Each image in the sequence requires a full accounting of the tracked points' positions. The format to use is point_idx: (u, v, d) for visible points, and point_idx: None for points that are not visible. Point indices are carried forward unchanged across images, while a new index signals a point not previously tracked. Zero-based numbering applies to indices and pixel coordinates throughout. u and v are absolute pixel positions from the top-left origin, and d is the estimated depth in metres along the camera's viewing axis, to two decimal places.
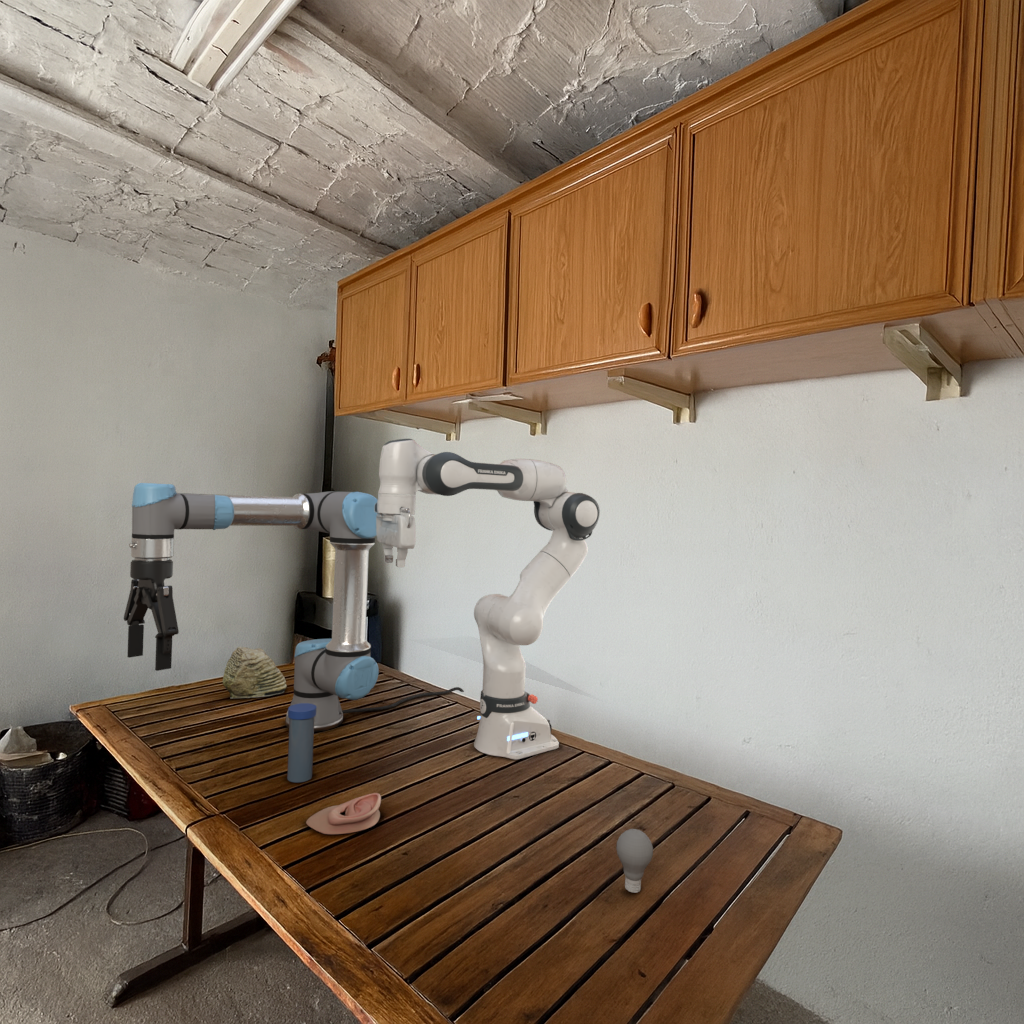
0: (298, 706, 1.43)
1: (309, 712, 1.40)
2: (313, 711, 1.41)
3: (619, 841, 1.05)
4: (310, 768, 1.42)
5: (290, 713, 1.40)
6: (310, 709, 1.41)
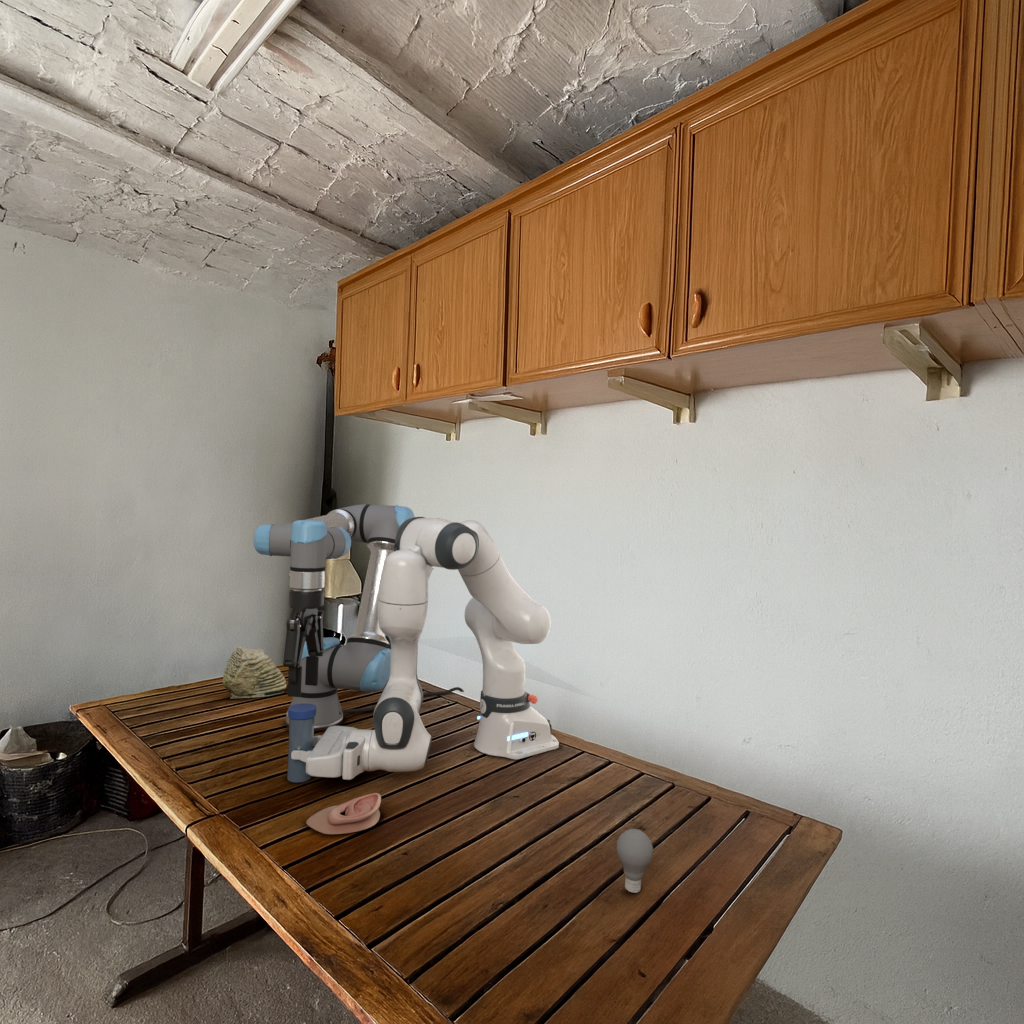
0: (298, 706, 1.43)
1: (309, 712, 1.40)
2: (313, 711, 1.41)
3: (619, 841, 1.05)
4: None
5: (290, 713, 1.40)
6: (310, 709, 1.41)
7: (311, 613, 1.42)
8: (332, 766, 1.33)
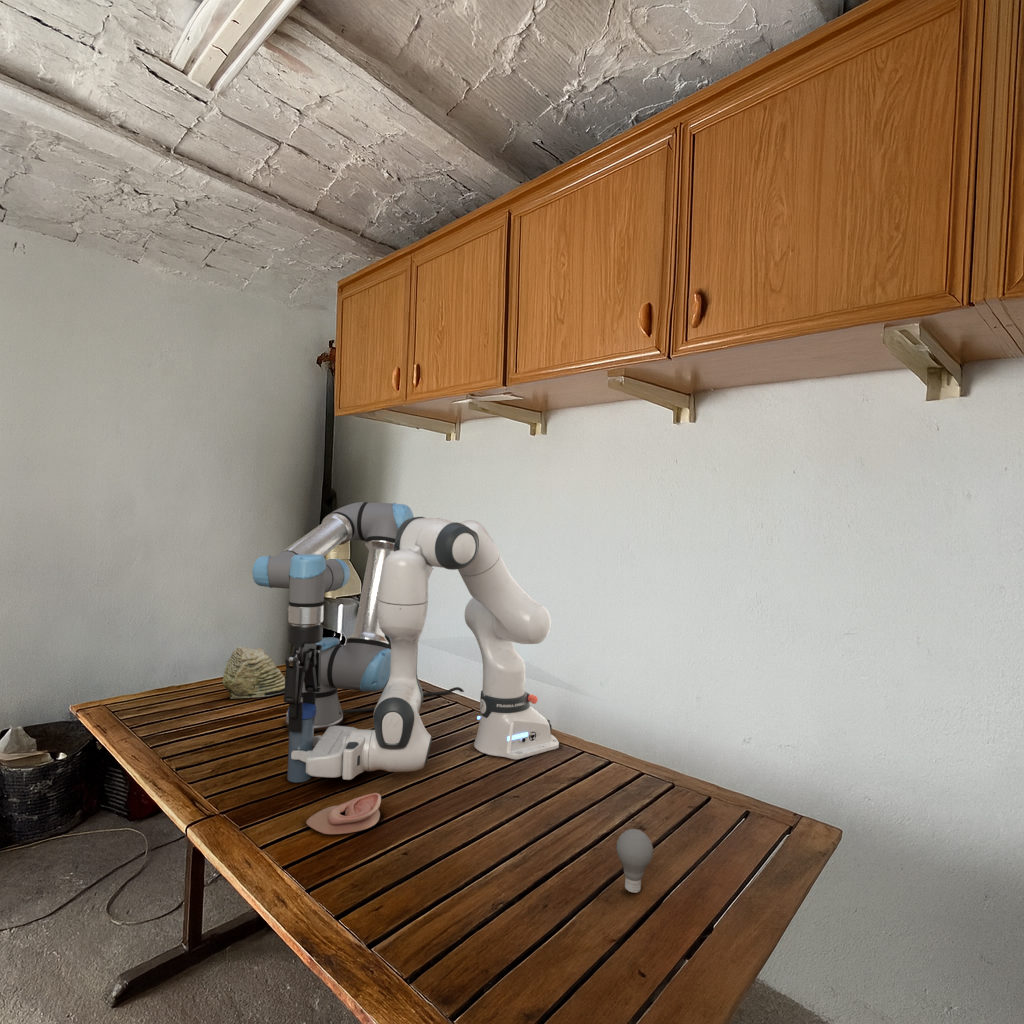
0: None
1: (309, 712, 1.40)
2: (313, 711, 1.41)
3: (619, 841, 1.05)
4: None
5: None
6: (310, 709, 1.41)
7: (310, 647, 1.42)
8: (332, 766, 1.33)
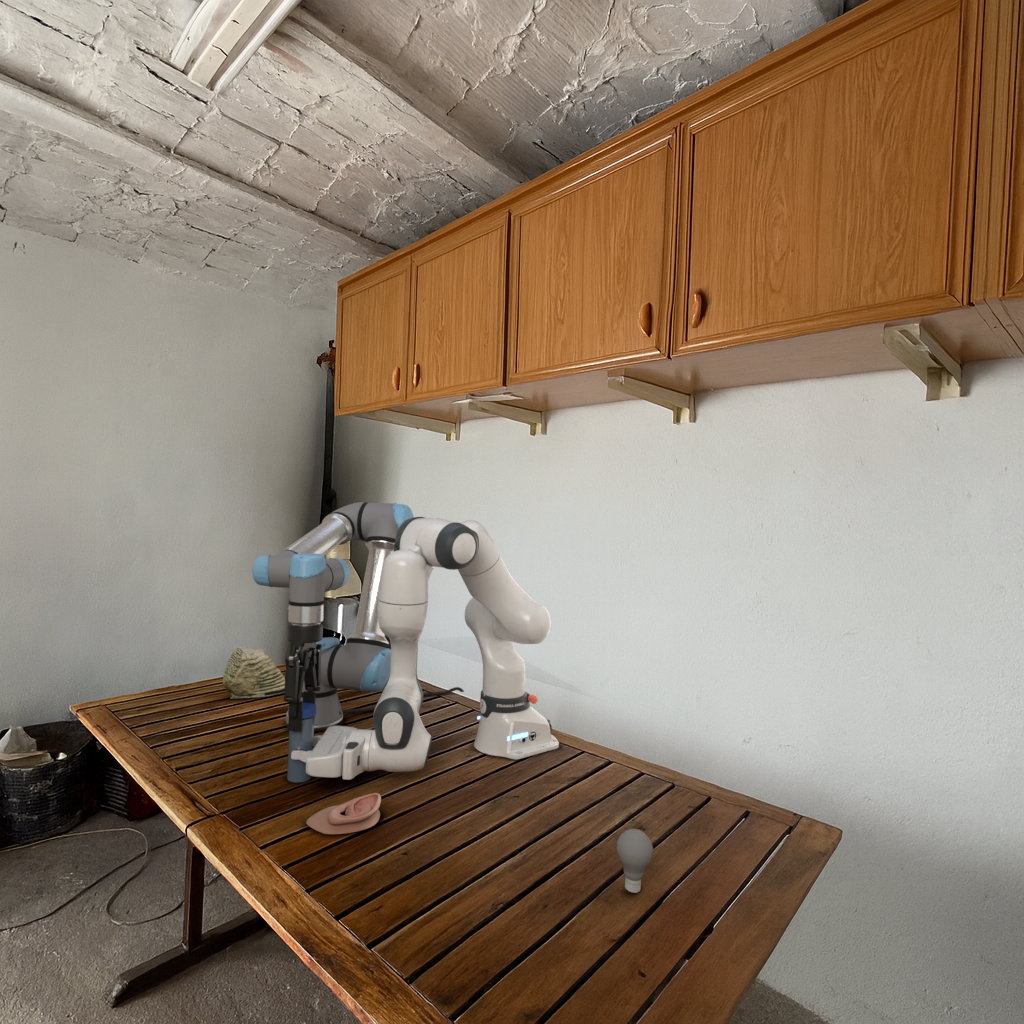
0: None
1: None
2: None
3: (619, 841, 1.05)
4: None
5: (303, 713, 1.39)
6: (313, 705, 1.44)
7: (310, 647, 1.42)
8: (332, 766, 1.33)
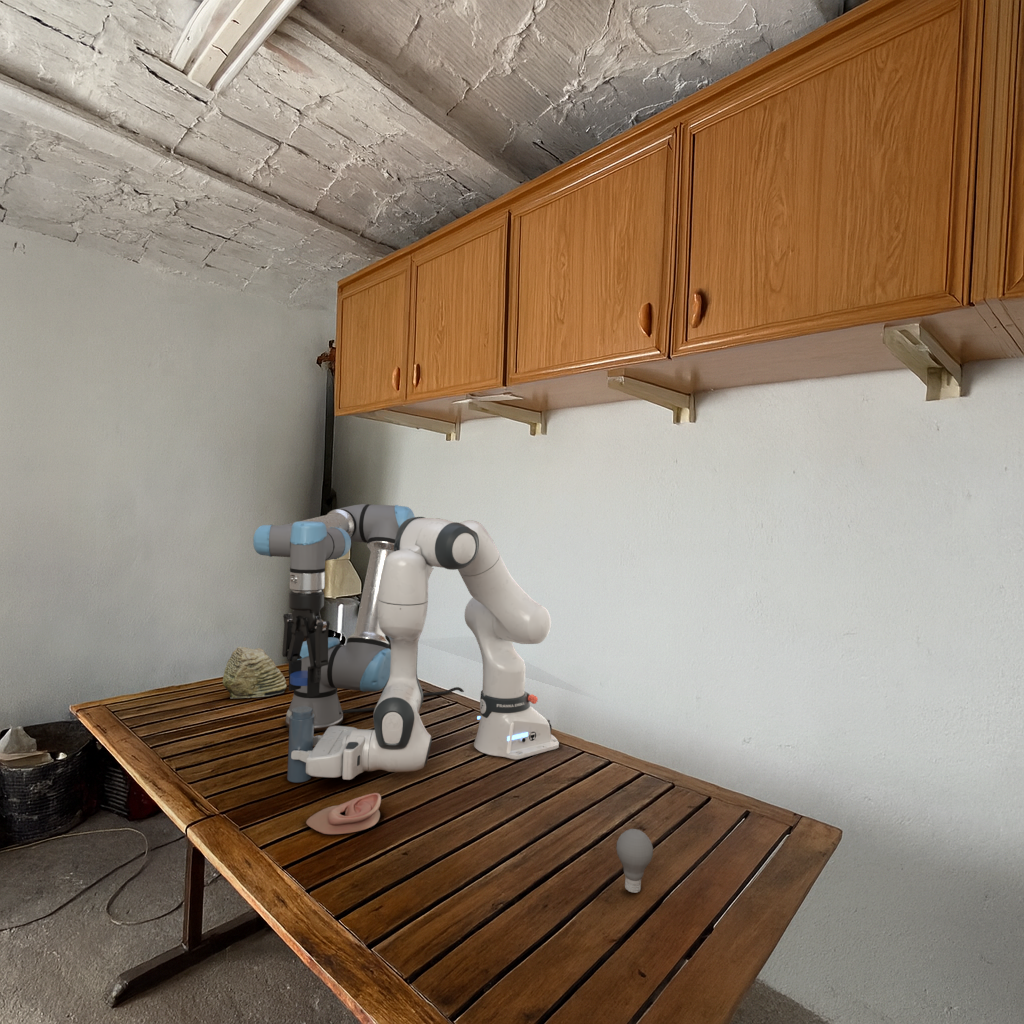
0: (302, 675, 1.41)
1: None
2: None
3: (619, 841, 1.05)
4: None
5: None
6: (306, 671, 1.45)
7: None
8: (332, 766, 1.33)
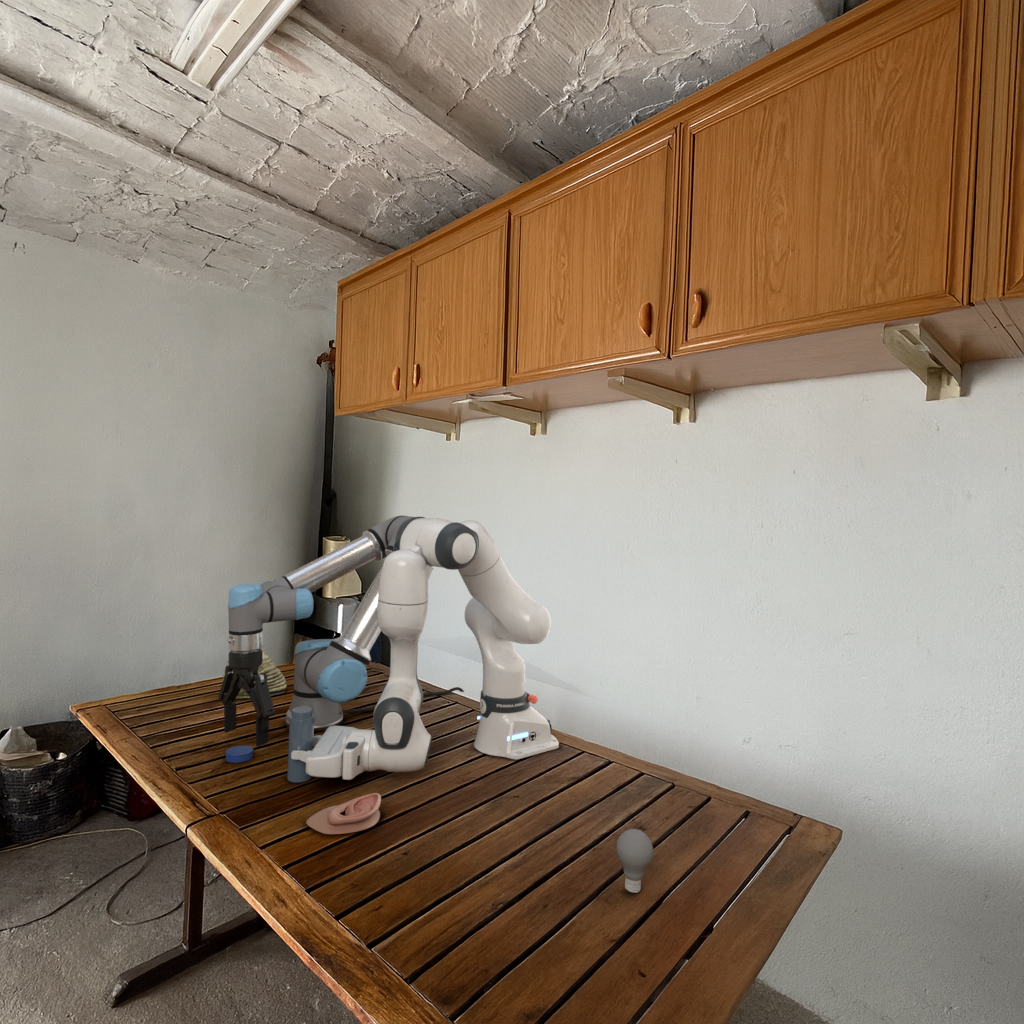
0: (237, 752, 1.50)
1: None
2: None
3: (619, 841, 1.05)
4: None
5: (251, 754, 1.51)
6: (242, 746, 1.54)
7: None
8: (332, 766, 1.33)
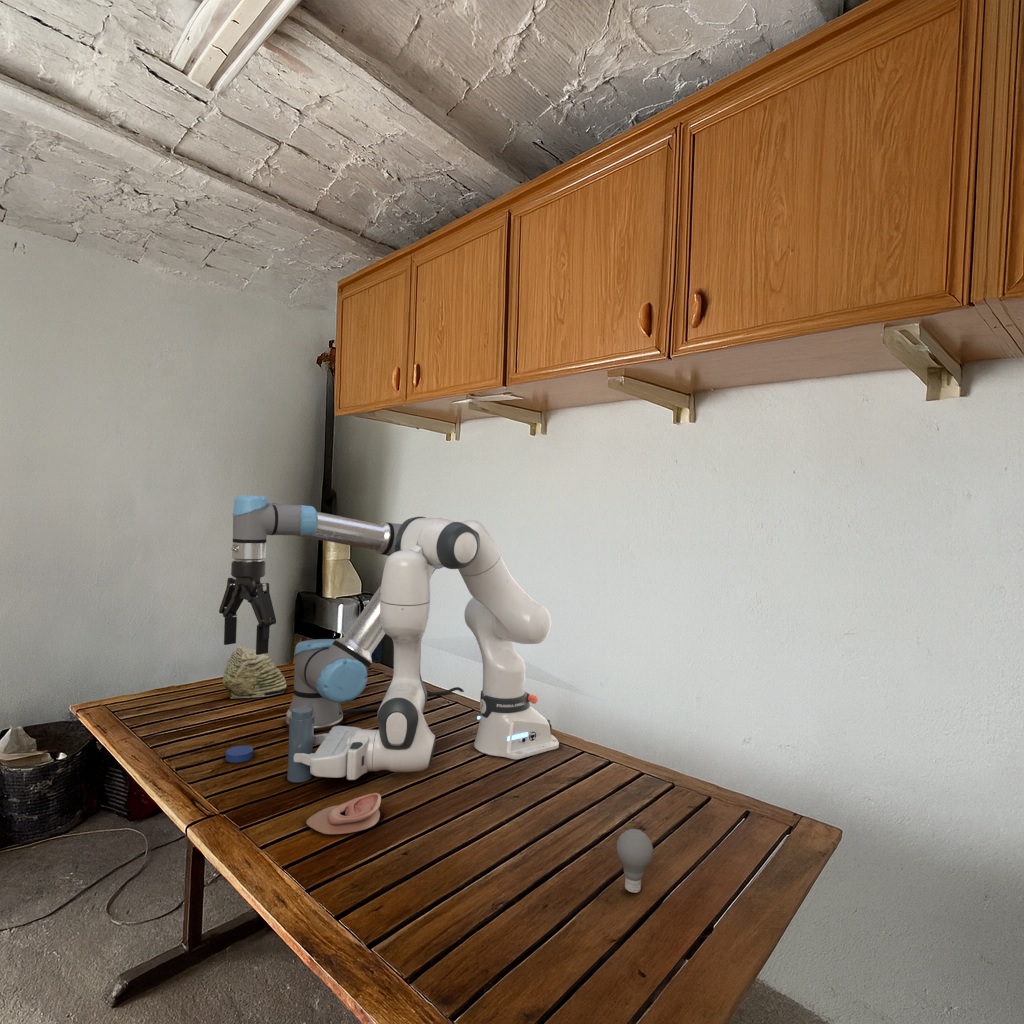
0: (237, 752, 1.50)
1: None
2: None
3: (619, 841, 1.05)
4: None
5: (251, 754, 1.51)
6: (242, 746, 1.54)
7: None
8: (336, 766, 1.33)
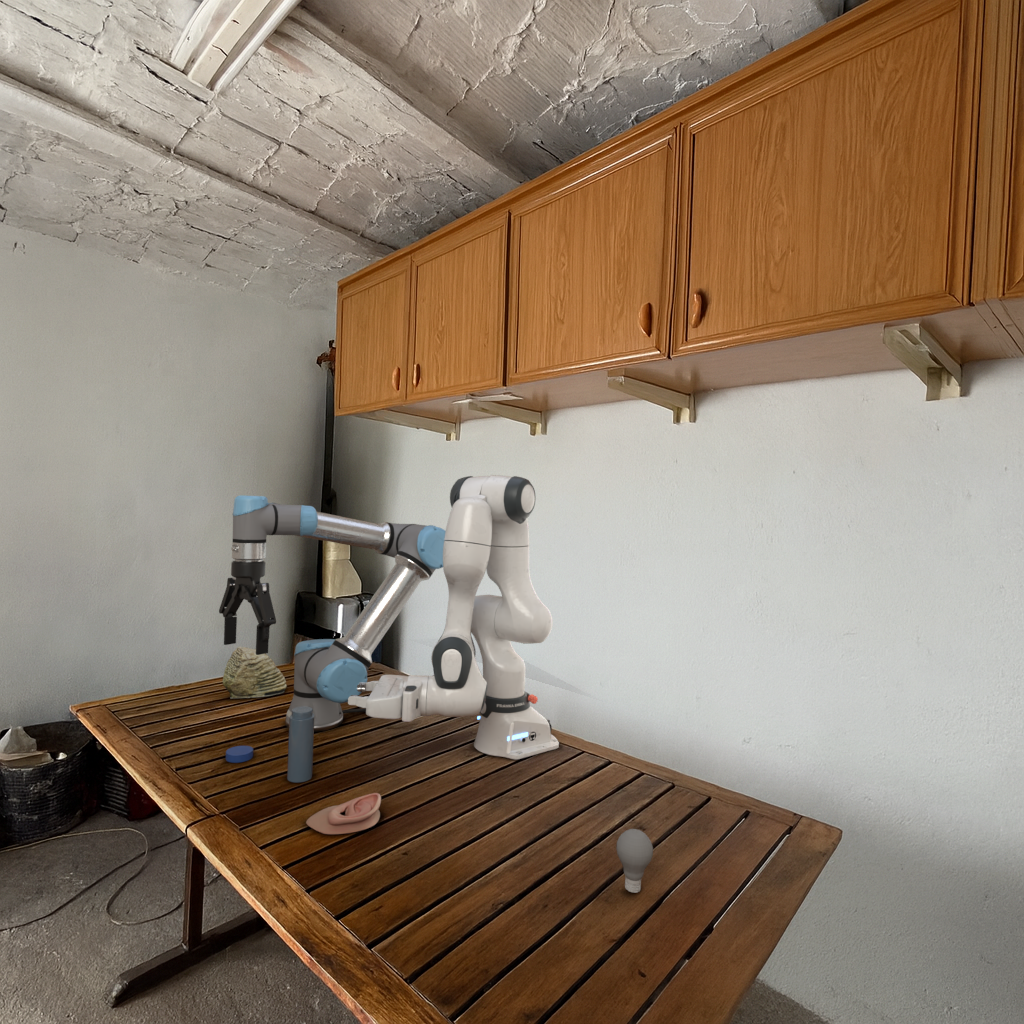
0: (237, 752, 1.50)
1: None
2: None
3: (619, 841, 1.05)
4: (310, 768, 1.42)
5: (251, 754, 1.51)
6: (242, 746, 1.54)
7: None
8: (392, 707, 1.33)
